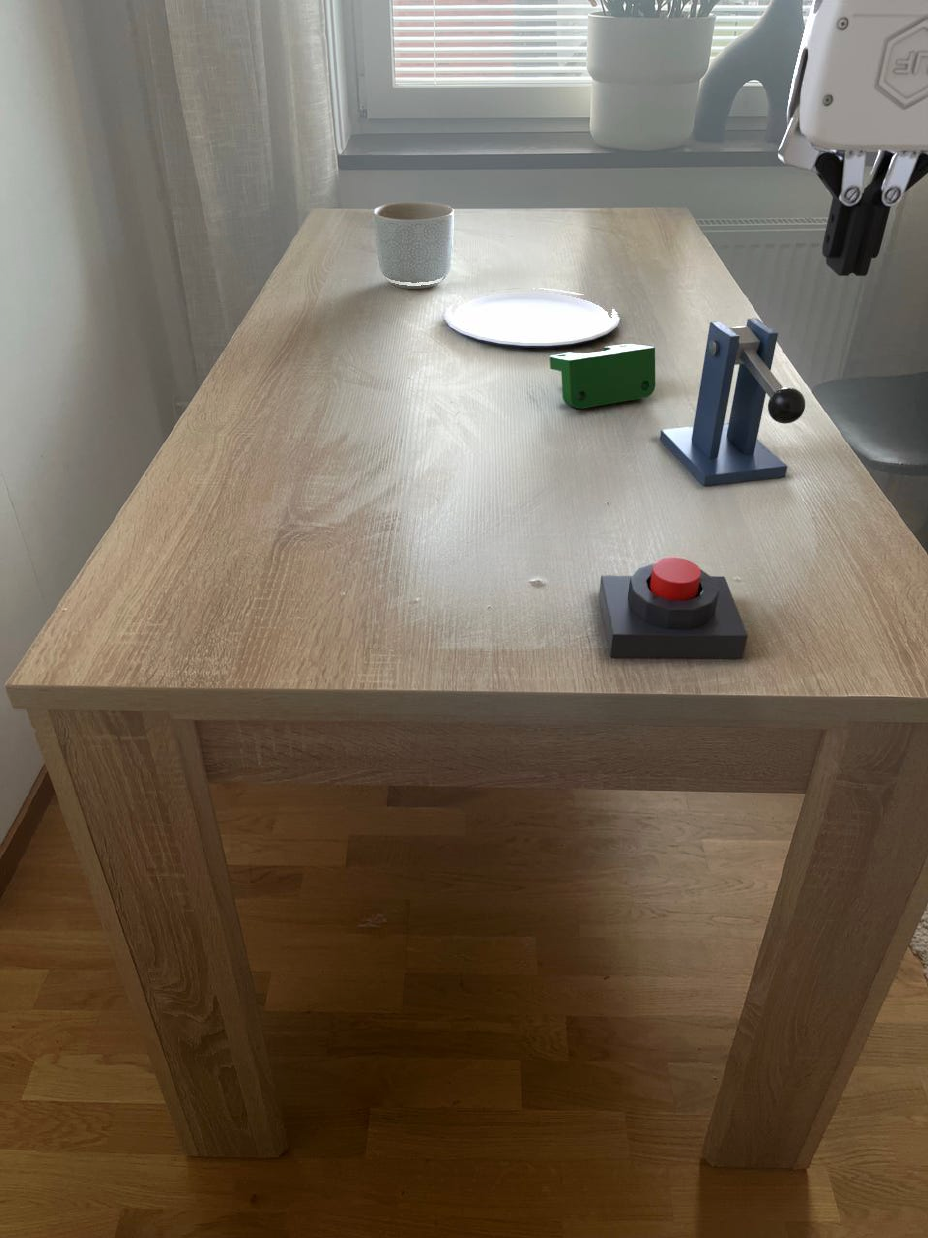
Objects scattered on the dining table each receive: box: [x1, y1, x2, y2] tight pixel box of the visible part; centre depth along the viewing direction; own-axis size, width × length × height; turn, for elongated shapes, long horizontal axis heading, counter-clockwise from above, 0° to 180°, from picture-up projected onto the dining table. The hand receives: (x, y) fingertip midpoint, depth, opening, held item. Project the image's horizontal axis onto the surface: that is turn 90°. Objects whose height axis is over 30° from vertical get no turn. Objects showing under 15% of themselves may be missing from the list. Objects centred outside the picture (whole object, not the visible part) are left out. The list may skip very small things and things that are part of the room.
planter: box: [372, 201, 455, 290], centre depth 144 cm, size 12×12×11 cm
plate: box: [443, 287, 621, 349], centre depth 131 cm, size 25×25×1 cm
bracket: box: [659, 317, 788, 487], centre depth 93 cm, size 11×9×14 cm
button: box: [650, 557, 701, 601], centre depth 70 cm, size 4×4×2 cm
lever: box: [728, 325, 806, 425], centre depth 86 cm, size 13×3×3 cm, turn 13°
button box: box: [598, 562, 748, 660], centre depth 71 cm, size 10×8×4 cm
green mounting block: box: [549, 343, 656, 410], centre depth 108 cm, size 12×6×9 cm, turn 106°
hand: (845, 269), depth 57 cm, fingers closed
